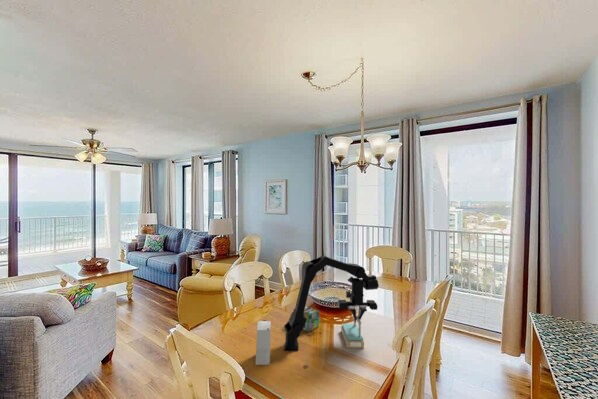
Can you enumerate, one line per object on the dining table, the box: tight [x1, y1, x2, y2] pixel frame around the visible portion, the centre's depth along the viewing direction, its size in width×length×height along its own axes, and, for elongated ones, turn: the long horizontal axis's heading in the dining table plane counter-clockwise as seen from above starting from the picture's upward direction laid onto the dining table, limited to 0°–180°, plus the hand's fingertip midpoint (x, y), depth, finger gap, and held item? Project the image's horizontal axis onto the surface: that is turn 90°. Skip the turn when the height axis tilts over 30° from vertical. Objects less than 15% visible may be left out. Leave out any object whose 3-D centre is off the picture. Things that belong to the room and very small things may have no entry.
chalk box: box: [302, 304, 322, 333], centre depth 144 cm, size 9×9×15 cm
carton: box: [340, 325, 365, 349], centre depth 132 cm, size 16×8×3 cm, turn 0°
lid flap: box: [341, 313, 364, 340], centre depth 132 cm, size 15×7×8 cm, turn 0°
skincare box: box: [254, 320, 272, 366], centre depth 114 cm, size 8×6×15 cm
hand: (357, 321), depth 132 cm, fingers closed
